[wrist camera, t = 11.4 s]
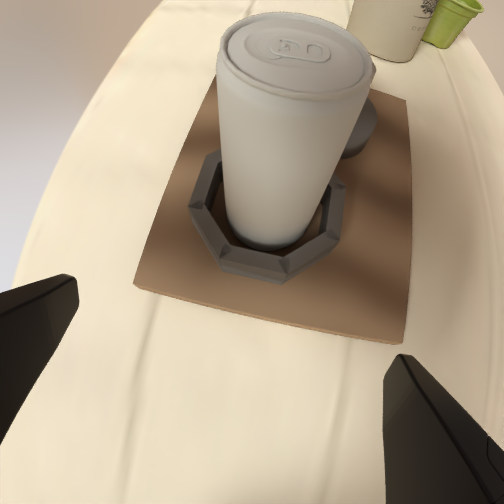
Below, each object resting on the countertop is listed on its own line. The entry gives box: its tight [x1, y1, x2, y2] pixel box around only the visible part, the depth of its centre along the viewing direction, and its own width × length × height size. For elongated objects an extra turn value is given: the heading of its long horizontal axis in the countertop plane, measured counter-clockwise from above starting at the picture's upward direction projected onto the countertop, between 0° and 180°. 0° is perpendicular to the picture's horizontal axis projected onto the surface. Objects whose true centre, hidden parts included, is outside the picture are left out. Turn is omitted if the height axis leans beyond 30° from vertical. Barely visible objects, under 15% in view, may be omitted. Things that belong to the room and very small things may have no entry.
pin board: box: [133, 62, 412, 345], centre depth 18 cm, size 20×16×8 cm
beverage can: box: [216, 12, 372, 251], centre depth 14 cm, size 5×5×12 cm
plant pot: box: [422, 0, 484, 49], centre depth 26 cm, size 9×9×9 cm
